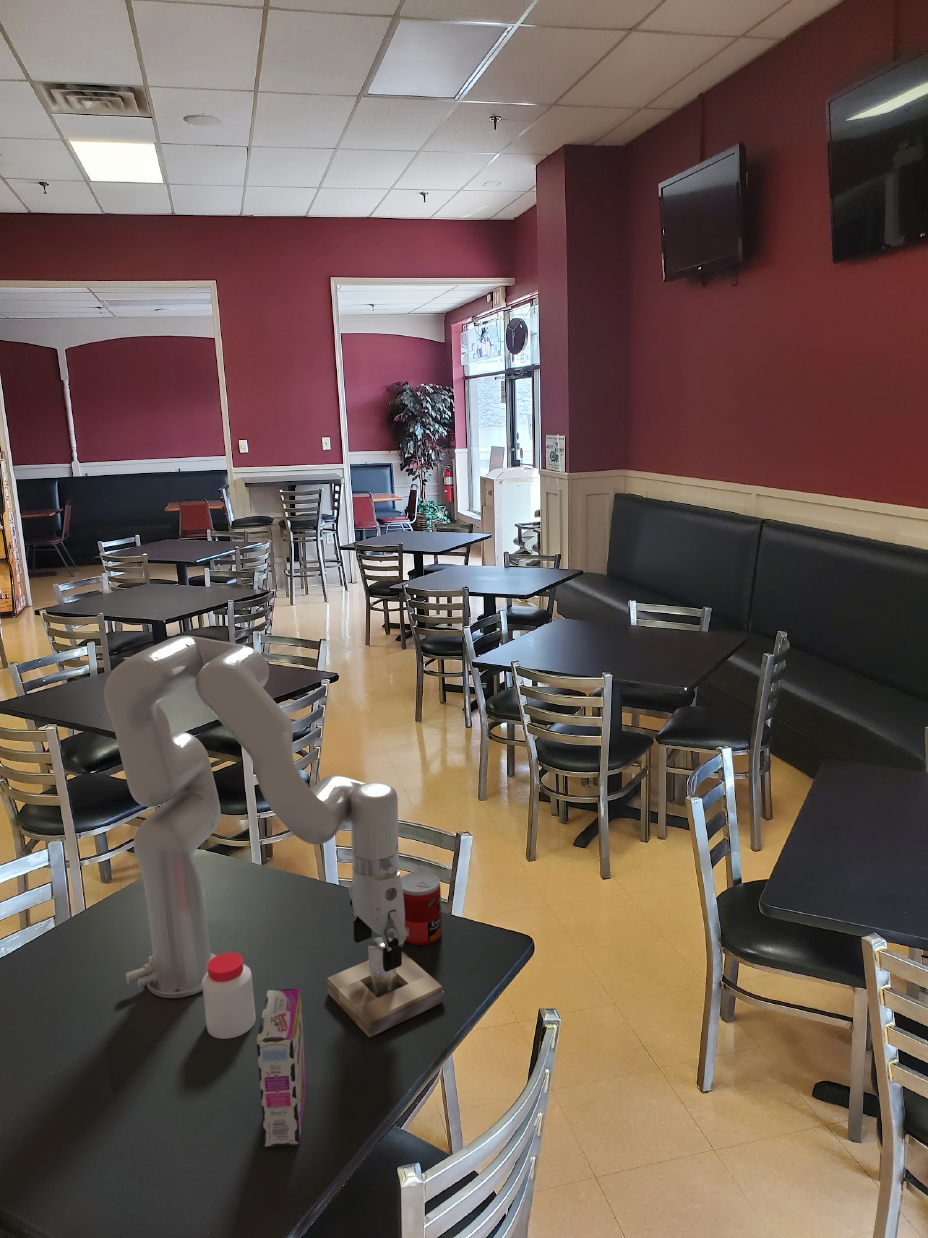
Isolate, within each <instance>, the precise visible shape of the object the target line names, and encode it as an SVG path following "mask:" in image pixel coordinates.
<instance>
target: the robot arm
mask: <svg viewBox="0 0 928 1238" xmlns="http://www.w3.org/2000/svg"><path fill="white" fill-rule="evenodd" d="M269 677H270V667H269V665H268V663H267V660H266V658H265V657H264V656H263V655H262V653H260V652H259V651H257V650H256V649H254V648H252V647H250V646H248V645H244V644H241V643H240V644H239V643H234V642H229V641H223V640H217V639H211V638H206V637H199V636H194V635H178V636H174V637H171V638H168V639H166V640H164V641H162V642H161V641H160V643H157V644H155V645H152V646H150V647H148V648H145V649H143V650H141V651H140V652H137V653H136V654H134V655H132V656H130V657H127V658H126V659H125V660H123V661H122V662H121V663H119V664H118V665H116V667H114V669H113V670H112V671H111V672H110V674H109V675H108V677H107V679H106V682H105V683H104V685H105V686H104V689H103V695H104V696H103V697H104V703H105V704H104V705H105V708H106V710H107V713H108V715H109V718H110V719H109V720H110V722H111V724H112V726H113V727H112V728H113V730H114V733H115V737H116V742H117V746H118V751H119V754H120V760H121V763H122V767H123V770H124V775H125V779H126V782H127V786H128V789H129V793H130V794H131V797H132V798H133V799H134V801H135V802H136V803H138V804H139V805H140V806H143V807H147V808H148V807H149V808H152V807H153V808H154V807H158V806H160V805H161V806H160V807H158V808H157V809H156V810H155V811H153V812H152V813H151V814H150V815H148V816H147V817H146V818H145V819H144V821H143V822H142V823H141V824H140V825H139V827H138V829H136V832H135V834H134V837H133V850H134V851H133V852H134V855H135V858H136V861H137V864H138V866H139V869H140V872H141V876H142V881H143V886H144V893H145V900H146V907H147V909H146V910H147V916H148V924H149V932H150V933H149V934H150V941H151V949H152V955H150V956H148V963H145V964H143V967H141V968H137V969H134V970H131V971H128V972H126V973H125V979H126V983H127V984H128V985H130V984H131V985H132V984H134V983H136V982H137V985H138V988H142V987H144V986H147V990H149V992H150V993H152V994H153V995H155V996H157V997H159V998H165V999H179V998H186V997H190V996H194V995H197V994H198V993H200V992H203V989H202V979H203V977H204V975H205V974H206V973H207V972H208V967H207V966H208V963H209V961H210V960H211V959H212V958H214V957H216V956H217V955H216V954H214V953H213V952H212V951H211V944H210V943H211V942H210V933H209V924H208V915H207V905H206V897H205V889H204V888H205V887H204V886H205V885H204V880H203V875H202V873H201V870H200V868H199V867H198V865H197V863H196V861H195V858H194V856H195V855H194V854H195V851H196V850H198V849H199V847H200V846H201V845H202V844H203V843H204V842H206V840H207V839H208V838H209V837H211V835H213V833H214V832H215V831H216V830H217V828H218V826H219V824H220V821H221V815H222V814H221V805H220V804H221V803H220V800H219V794H218V790H217V786H216V782H215V779H214V773H213V768H212V765H211V760H210V757H209V754H208V751H207V749H206V748H205V746H204V745H203V743H202V742H201V741H200V740H199V739H198V738H197V737H196V736H194V735H193V734H190V733H188V732H186V731H185V732H184V731H175V732H172V730H171V726H170V722H169V719H168V717H167V714H166V713H165V711H164V709H162V707H161V706H160V705H159V704H158V703H159V702H160V701H162V700H165V699H167V698H169V697H171V695H174V694H176V693H177V692H179V691H181V690H183V689H185V688H187V687H188V686H190V685H191V684H192V685H194V686H195V691H196V694H197V696H198V697H199V698H200V700H201V701H202V702H203V704H204V705H205V706H206V707H207V709H209V710H210V712H211V713H212V714H213V716H215V717H216V718H217V720H218V721H219V722H220V723H221V724H222V725H223V726H224V728H226V730H227V731H228V732H229V733H230V734H231V736H233V738H234V739H235V740H236V741H237V742H238V743H239V745H240V746H241V747H242V748H243V749H244V750H245V752H246V753H247V754H248V756H249V757H250V759H251V762H252V766H253V771H254V775H255V778H256V781H257V783H258V786H259V790H260V791H261V794H262V796H263V798H264V800H265V803H266V804H267V806H268V807H269V808H270V810H271V811H272V812H273V813H274V815H275V816H276V817H277V818H278V819H279V820H280V822H281V823H282V824H283V825H284V827H286V828H287V829H288V830H289V831H290V832H291V833H292V835H294V836H295V837H297V838H298V839H299V840H301V841H302V842H304V843H306V844H310V845H314V846H315V845H316V846H317V845H323V844H326V843H328V842H329V841H331V840H332V839H333V838H334V837H335V836H336V835H337V833H338V832H339V831H340V829H341V828H342V827H343V825H345V824H347V823H349V824H350V832H351V833H350V835H351V868H352V877H351V878H352V879H351V885H350V886H349V887H347V888H348V889H347V890H348V894H349V898H350V901H349V905H350V907H351V908H352V913H351V918H352V920H353V922H352V923H353V941H354V943H356V944H358V943H361V942H363V941H365V940H369V939H371V938H372V936H373V932H374V933H376V934H377V935H380V937H382V940H383V942H384V945H385V948H384V949H383V970H384V971H385V972H388V971H390V970H392V969H395V968H397V967H400V966H401V965H402V952H403V951H402V949H403V948H402V947H403V946H404V944H406V941H405V940H406V937H407V930H406V929H405V927H404V926H405V910H404V897H403V888H402V882H401V877H402V876H401V875H400V871H399V867H400V864H399V863H400V862H399V861H400V860H399V858H400V857H399V855H400V854H399V808H398V807H399V800H398V793H397V791H396V789H395V788H394V787H392V786H391V785H389V784H387V783H383V782H363V781H359V780H355V779H353V778H350V777H346V776H342V775H337V774H336V775H335V774H334V775H332V774H331V775H327V776H325V777H323V778H321V780H319V781H318V782H317V783H316V784H315V786H314V787H312V789H311V787H309V786H308V785H307V783H306V781H304V779H303V778H302V776H301V775H300V773H299V770H298V769H297V766H296V764H295V759H294V756H293V755H294V754H293V740H294V739H293V737H294V736H293V735H294V725H293V721H292V720H291V718H290V717H289V716H288V715H287V714H286V713H285V711H284V710H283V709H282V708H281V707H280V706H279V704H278V703H277V702H276V701H275V700H274V699H273V698H272V696H271V695H270V694H269V693H268V692H267V691H266V690H265V689H264V687H265V685H266V684H267V682H268V679H269ZM388 925H391V927H389V928H387V926H388ZM390 933H393V935H394V938H392V939H393V940H392V941H389V938H390V937H389V936H388V934H390Z"/></svg>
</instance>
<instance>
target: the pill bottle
mask: <svg viewBox="0 0 928 1238" xmlns="http://www.w3.org/2000/svg"><path fill="white" fill-rule="evenodd" d="M207 967H208V972H207V973H206V974H205V975H204V977H203V979H202V989H203V991H202V995H203V1007H204V1015H205V1022H206V1023H205V1026H206V1031H207V1032H208V1034H209V1035H210V1036H211V1037H212V1038H216V1039H222V1040H225V1039H226V1040H227V1039H234V1038H236V1037H240V1036H242V1035H244V1034H246V1033H247V1032H249V1031H250V1030H251V1029H252V1028H253V1027H254V1025H255V1023H256V1020H257V1019H256V1018H257V1016H256V1006H255V995H254V984H253V977H252V975H253V974H252V971H251V969H250V967H249V966H247V964H244V959H243V956H242V955H240V954H239V953H236V952H224V953H220V954H218V955H216V957H214V958H212V959H211V960H210V961H209V963H208V966H207Z"/></svg>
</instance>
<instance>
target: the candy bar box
mask: <svg viewBox="0 0 928 1238" xmlns="http://www.w3.org/2000/svg"><path fill="white" fill-rule="evenodd" d="M301 995H302V994H301V988H297V987H296V988H285V989H283V988H282V989H272V990H271V989H270V990H267V993H266V996H265V1001H264V1005H263V1009H262V1014H261V1016H260V1017H261V1018H260V1022H259V1028H258V1032H257V1037H256V1050H257V1051H256V1052H257V1063H258V1075H259V1077H258V1078H259V1088H260V1099H261V1100H260V1101H261V1112H262V1113H261V1114H262V1123H263V1124H262V1126H263V1135H264V1136H263V1138H264V1147H265V1148H272V1147H273V1148H274V1147H286V1146H288V1147H289V1146H297V1145H300V1142H301V1136H302V1135H301V1134H302V1126H303V1119H304V1110H305V1102H306V1101H305V1100H306V1095H307V1094H306V1093H307V1087H308V1086H307V1085H308V1084H307V1072H306V1071H307V1069H306V1068H307V1067H306V1056H305V1044H304V1043H305V1042H304V1026H303V1010H302V1009H303V1008H302V996H301Z"/></svg>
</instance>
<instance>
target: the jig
mask: <svg viewBox="0 0 928 1238" xmlns="http://www.w3.org/2000/svg"><path fill="white" fill-rule="evenodd" d="M396 975H397V989H396V990H394V991H392V992H390V993H387V994H385V995H383V996H381V997H379V998H377V997H376V996H375V995H374V994H373V993H372V992H371V983H370V968H369V959H367V960H365V961H363V962H361V963H359V964H357V965H353V966H352V967H349V968H347V969H344V970H342V971H340V972H338V973H335V974H333V975H331V976H328V977H327V994H328V995H329V996H330V997H331V998H332V999H333V1000H334V1001H335V1002H336V1004H338V1006H339V1007H340V1008H341V1009H342V1010H343V1011H344V1012H345V1013H346V1014H347V1015H348V1016H349V1017H350V1019H351V1020H353V1022H354V1023H355V1024H356V1025H357V1026H358V1027H359V1029H361V1030H362V1032H363V1033H364V1034H366V1036H367V1037H368V1038H371V1037H374V1036H376V1035H377V1034H380V1033H382V1032H384V1031H386V1030H388V1029H390V1028H392V1027H395V1026H397V1025H399V1024H401V1023H403V1022H405V1021H407V1020H409V1019H411V1018H413V1017H416V1016H417V1015H419V1014H421V1013H424V1012H426V1011H427V1010H430V1009H432V1008H434V1007H437V1006H438V1005H440V1004H442V1003H443V1002H445V1000H446V999H445V996H446V995H445V991H444V990H443V985H441V984H440V983H439V982H438V981H437V980H435V979H434V978H433V977H432V976H431V975H430V974H429V973H428V972H426V971H425V970H424V969H423V968H422V967H421V966H419V964H417V962H415V961H414V960H413V959H412V958H411V957H409V956H408V955H407V954H406V953H405V952H404V951H402V965H401V966H400V967H397V968H396Z"/></svg>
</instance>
